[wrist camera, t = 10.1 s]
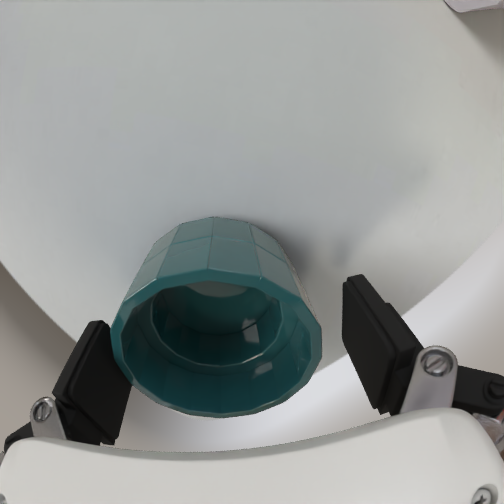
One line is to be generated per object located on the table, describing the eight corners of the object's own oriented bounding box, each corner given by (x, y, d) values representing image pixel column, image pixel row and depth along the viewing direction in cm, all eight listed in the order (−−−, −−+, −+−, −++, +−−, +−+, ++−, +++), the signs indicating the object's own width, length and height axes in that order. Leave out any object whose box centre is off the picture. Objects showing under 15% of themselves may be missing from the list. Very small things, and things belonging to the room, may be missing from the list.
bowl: (172, 349, 15) (160, 422, 10) (124, 233, 12) (75, 292, 7) (298, 327, 15) (322, 400, 10) (281, 199, 12) (317, 245, 7)
